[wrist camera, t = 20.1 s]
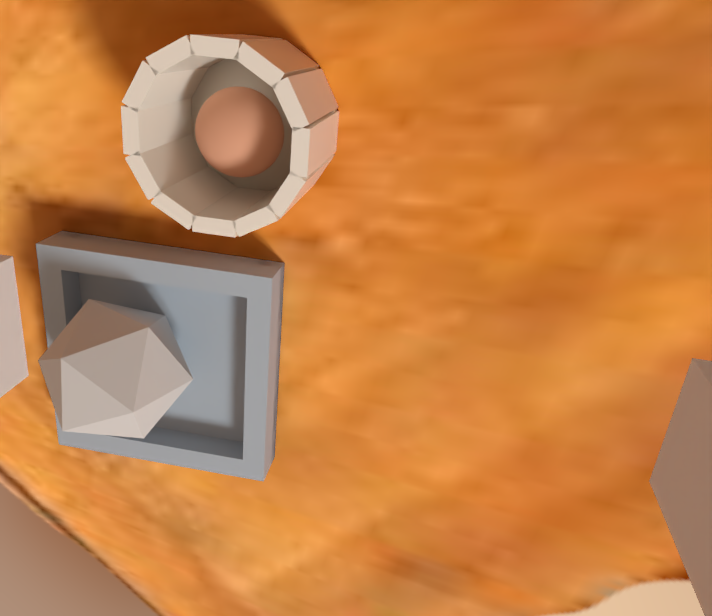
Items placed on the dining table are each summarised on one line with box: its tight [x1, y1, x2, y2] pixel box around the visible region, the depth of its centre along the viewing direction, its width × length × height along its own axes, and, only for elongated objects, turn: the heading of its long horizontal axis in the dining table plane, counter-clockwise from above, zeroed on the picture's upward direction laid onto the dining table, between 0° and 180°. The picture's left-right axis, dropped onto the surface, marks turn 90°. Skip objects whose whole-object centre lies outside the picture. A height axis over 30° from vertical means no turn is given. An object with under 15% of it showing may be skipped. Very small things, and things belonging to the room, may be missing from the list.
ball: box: [195, 86, 284, 177], centre depth 37 cm, size 5×5×5 cm
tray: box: [36, 231, 284, 481], centre depth 46 cm, size 16×16×3 cm
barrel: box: [121, 34, 339, 237], centre depth 36 cm, size 10×10×8 cm
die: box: [38, 299, 193, 438], centre depth 42 cm, size 8×9×10 cm
